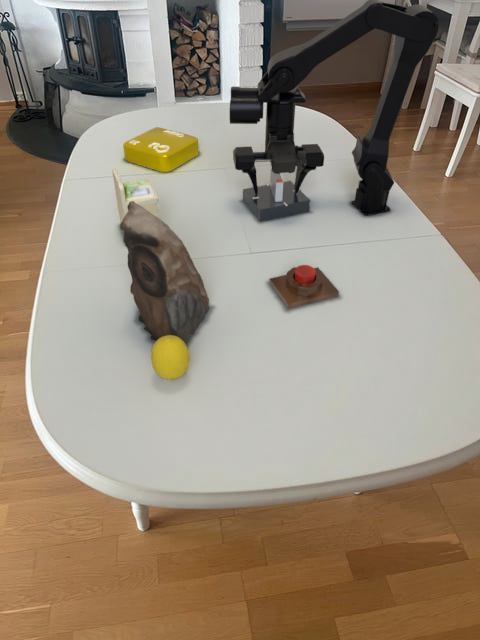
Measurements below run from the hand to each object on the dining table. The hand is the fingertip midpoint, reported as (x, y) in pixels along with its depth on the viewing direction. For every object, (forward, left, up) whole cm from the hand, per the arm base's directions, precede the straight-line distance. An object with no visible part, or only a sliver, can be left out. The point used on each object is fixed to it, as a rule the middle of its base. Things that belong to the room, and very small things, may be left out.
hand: (276, 193), depth 116 cm
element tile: (+17, -35, -3) cm, 39 cm away
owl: (+32, +30, -3) cm, 44 cm away
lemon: (+36, +42, -3) cm, 55 cm away
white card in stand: (0, 0, 0) cm, 0 cm away
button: (+8, +30, -1) cm, 31 cm away
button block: (+8, +30, -3) cm, 31 cm away
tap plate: (0, 0, -3) cm, 3 cm away
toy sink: (+31, 0, -3) cm, 31 cm away
